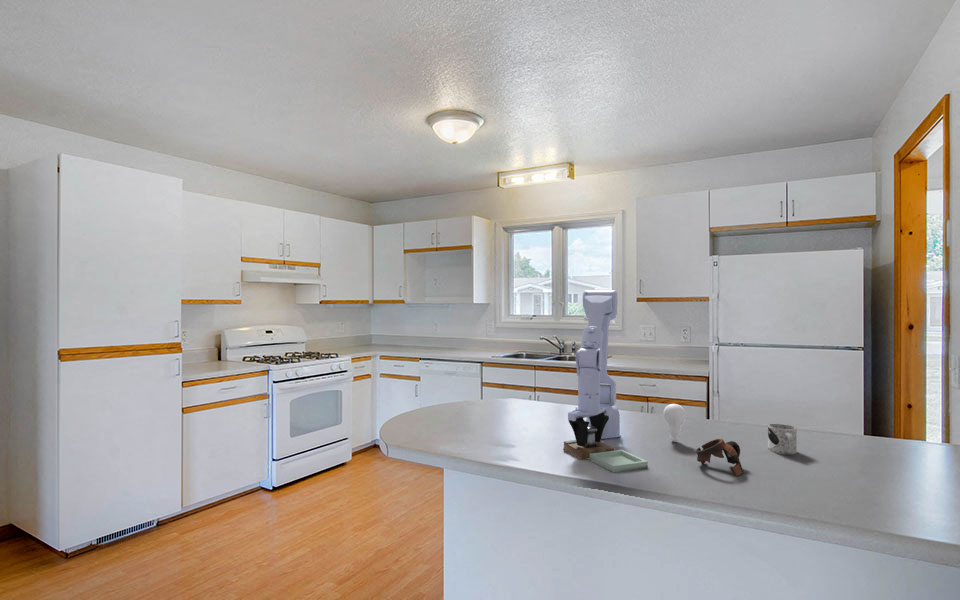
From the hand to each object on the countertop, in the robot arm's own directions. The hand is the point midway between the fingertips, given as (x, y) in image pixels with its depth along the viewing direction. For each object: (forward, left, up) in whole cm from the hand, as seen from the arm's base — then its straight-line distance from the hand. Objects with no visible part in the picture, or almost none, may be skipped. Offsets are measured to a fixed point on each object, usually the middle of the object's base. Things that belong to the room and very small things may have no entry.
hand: (588, 443), depth 131 cm
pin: (0, 0, -2) cm, 2 cm away
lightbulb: (-29, 0, -3) cm, 29 cm away
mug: (-50, +18, -3) cm, 53 cm away
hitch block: (0, 0, -2) cm, 2 cm away
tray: (-2, +10, -2) cm, 10 cm away
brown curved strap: (-24, +22, -3) cm, 32 cm away
